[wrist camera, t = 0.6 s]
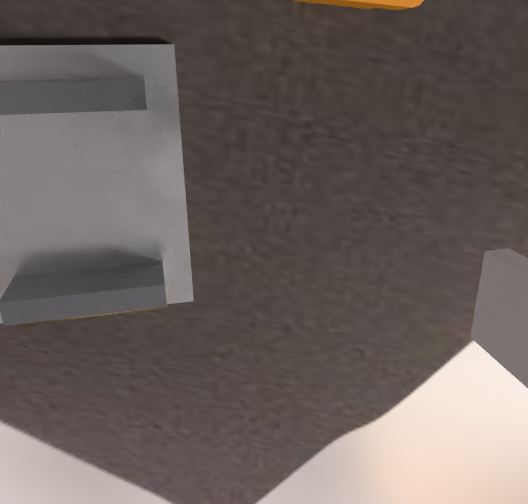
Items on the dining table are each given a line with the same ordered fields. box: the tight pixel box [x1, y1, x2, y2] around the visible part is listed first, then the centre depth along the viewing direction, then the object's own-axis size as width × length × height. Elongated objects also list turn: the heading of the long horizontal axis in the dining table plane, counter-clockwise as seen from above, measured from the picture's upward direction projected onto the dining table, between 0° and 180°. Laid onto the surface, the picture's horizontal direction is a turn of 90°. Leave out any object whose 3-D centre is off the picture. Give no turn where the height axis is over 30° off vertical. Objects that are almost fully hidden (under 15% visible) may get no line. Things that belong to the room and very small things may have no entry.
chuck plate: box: [0, 44, 193, 326], centre depth 30 cm, size 18×14×5 cm
